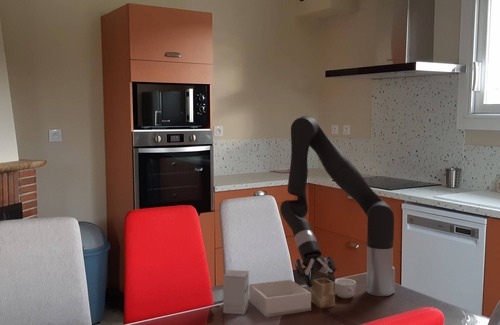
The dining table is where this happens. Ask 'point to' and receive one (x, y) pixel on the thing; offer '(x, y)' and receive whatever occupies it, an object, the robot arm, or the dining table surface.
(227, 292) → the supplement box
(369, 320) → the dining table surface
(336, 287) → the teacup
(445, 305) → the dining table surface
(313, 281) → the small wooden crate
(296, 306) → the big plastic crate
